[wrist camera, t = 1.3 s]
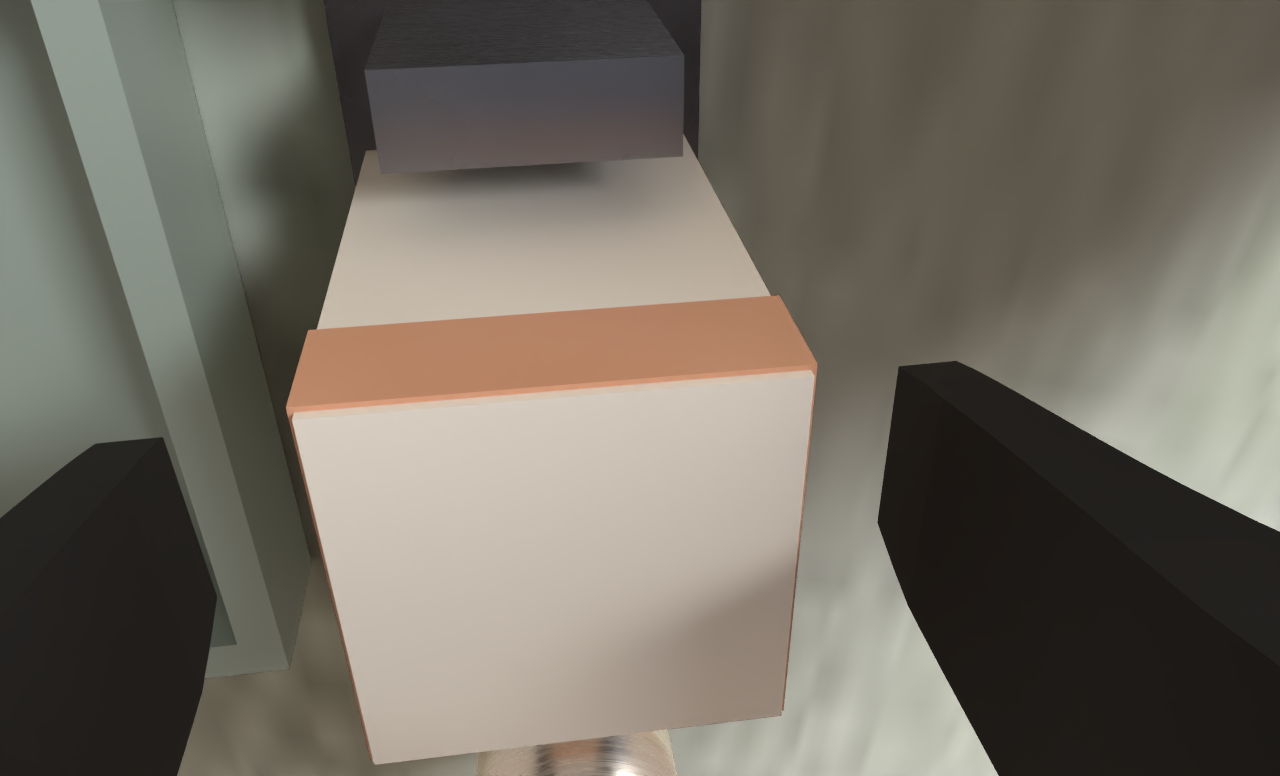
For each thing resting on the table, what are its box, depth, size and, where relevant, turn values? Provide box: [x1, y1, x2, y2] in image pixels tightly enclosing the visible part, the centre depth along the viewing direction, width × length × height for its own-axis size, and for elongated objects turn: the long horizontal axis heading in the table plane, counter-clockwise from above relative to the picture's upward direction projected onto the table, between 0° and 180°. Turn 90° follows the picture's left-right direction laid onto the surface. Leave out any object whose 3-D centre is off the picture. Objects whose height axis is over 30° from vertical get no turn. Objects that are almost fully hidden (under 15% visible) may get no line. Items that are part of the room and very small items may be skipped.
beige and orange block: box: [286, 134, 818, 765], centre depth 11 cm, size 4×4×6 cm
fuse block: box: [324, 0, 701, 776], centre depth 12 cm, size 4×19×4 cm, turn 1°
